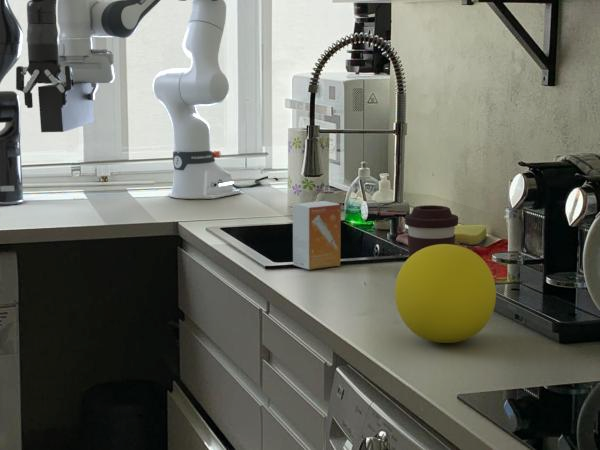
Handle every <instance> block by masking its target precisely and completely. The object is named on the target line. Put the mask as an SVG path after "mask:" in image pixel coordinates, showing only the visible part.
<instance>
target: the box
mask: <svg viewBox="0 0 600 450" xmlns="http://www.w3.org/2000/svg"><path fill="white" fill-rule="evenodd" d="M63 84H64V85H65V86H66V82H64V83H63ZM92 89H93V87H91V83H86V82H74V89H72V90H70V91H68V92H67V102H68V103H67V105H65V107H64V108H60V95H59V93H61V92H60V90H59V89H58V88H57V87H56V86H55V85H54V84H44V85H41V86H37V94H38V106H39V107H38V108H39V121H40V133H64V132H68V131H71V130H74V129H78V128H80V127H83V126H87V125H90V124H94V123H95V114H94V113H95V112H94V100H88V94H89V93H91V92H92Z"/></svg>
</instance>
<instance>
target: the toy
mask: <svg viewBox="0 0 600 450" xmlns="http://www.w3.org/2000/svg"><path fill="white" fill-rule="evenodd" d="M394 295H395V296H394V297H395V304H396V308H397V311H398V314H399V316H400V319H401V320H402V322H403V323H404V325H405V326H406V327H407V328H408V329H409V330H410V331H411V332H412V333H414V334H415V335H416V336H418V337H420V338H421V339H424V340H427V341H430V342H434V343H439V344H454V343H458V342H462V341H466V340H468V339H471V338H472V337H475V335H477V334H478V333H480V332H481V331H482V330H483V329H484V328H485V327H486V325H487V324H488V323H489V321H490V319H491V317H492V316H493V313H494V310H495V307H496V301H497V289H496V283H495V278H494V275H493V274H492V271H491V269H490V267H489V265H488V264H487V263H486V261H485V260H484V259H483V258H482V257H481V256H480V255H479V254H477V253H476V252H475V251H473V250H471V249H470V248H467V247H465V246H461V245H457V244H454V245H452V244H438V245H432V246H429V247H425V248H423V249H421V250H419V251H417V252H416V253H414V254H413V255H412V256H410V257H409V256H408V258H407V259H406V260H405V261H404V263H403V264H402V265H401V268H400V269H399V272H398V274H397V276H396V280H395V287H394Z"/></svg>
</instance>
